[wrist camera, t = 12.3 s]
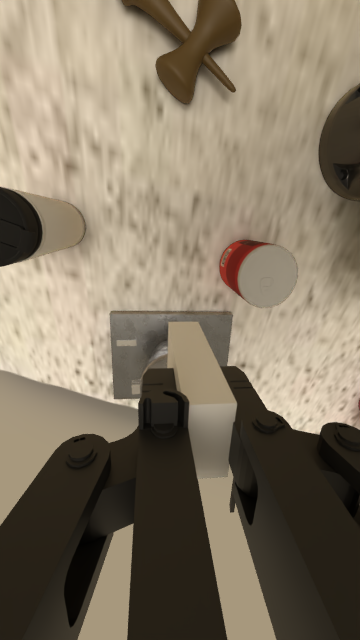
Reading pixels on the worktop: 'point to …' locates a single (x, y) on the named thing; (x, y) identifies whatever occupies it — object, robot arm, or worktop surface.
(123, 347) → the mount plate
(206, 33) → the kendama
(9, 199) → the travel mug
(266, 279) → the canned food
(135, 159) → the worktop surface
